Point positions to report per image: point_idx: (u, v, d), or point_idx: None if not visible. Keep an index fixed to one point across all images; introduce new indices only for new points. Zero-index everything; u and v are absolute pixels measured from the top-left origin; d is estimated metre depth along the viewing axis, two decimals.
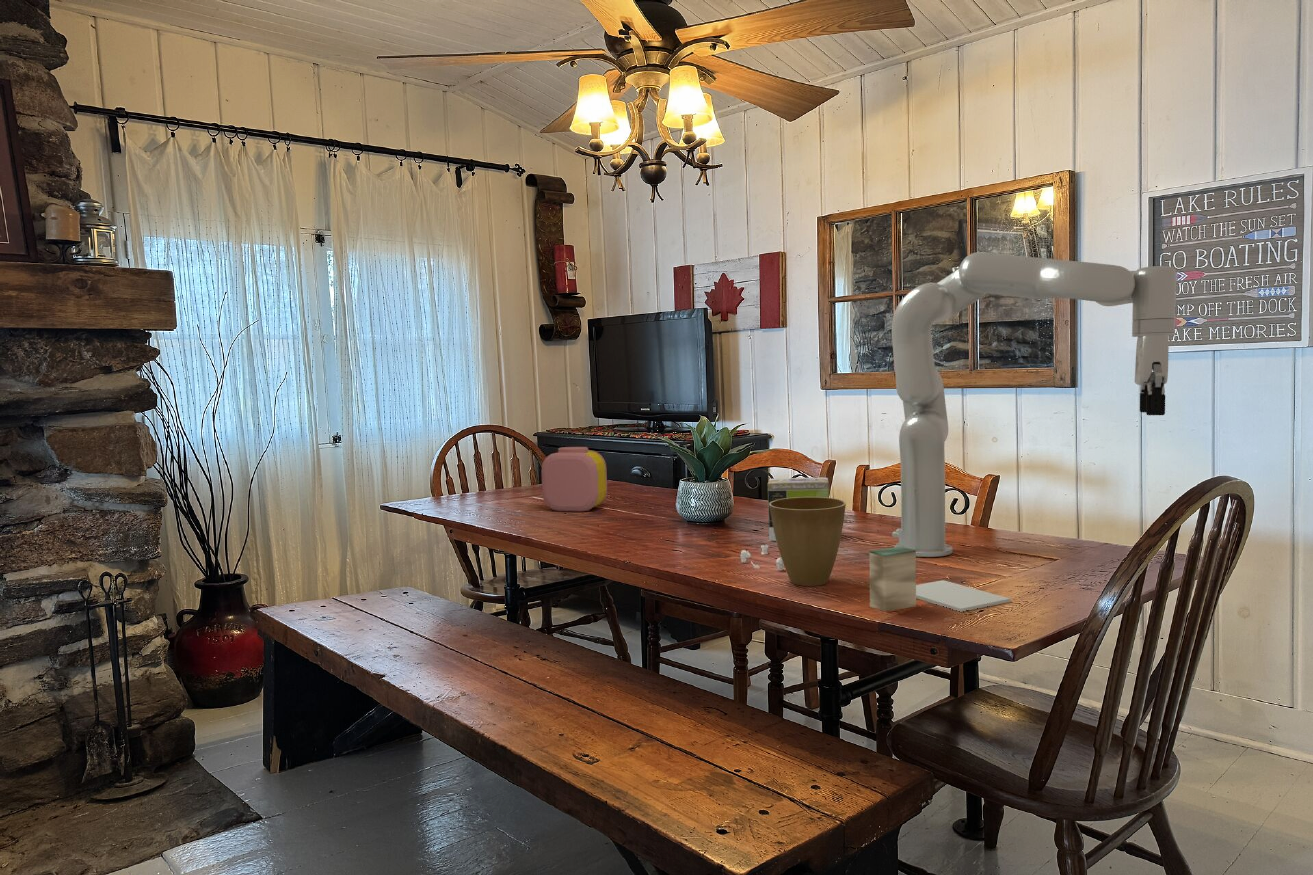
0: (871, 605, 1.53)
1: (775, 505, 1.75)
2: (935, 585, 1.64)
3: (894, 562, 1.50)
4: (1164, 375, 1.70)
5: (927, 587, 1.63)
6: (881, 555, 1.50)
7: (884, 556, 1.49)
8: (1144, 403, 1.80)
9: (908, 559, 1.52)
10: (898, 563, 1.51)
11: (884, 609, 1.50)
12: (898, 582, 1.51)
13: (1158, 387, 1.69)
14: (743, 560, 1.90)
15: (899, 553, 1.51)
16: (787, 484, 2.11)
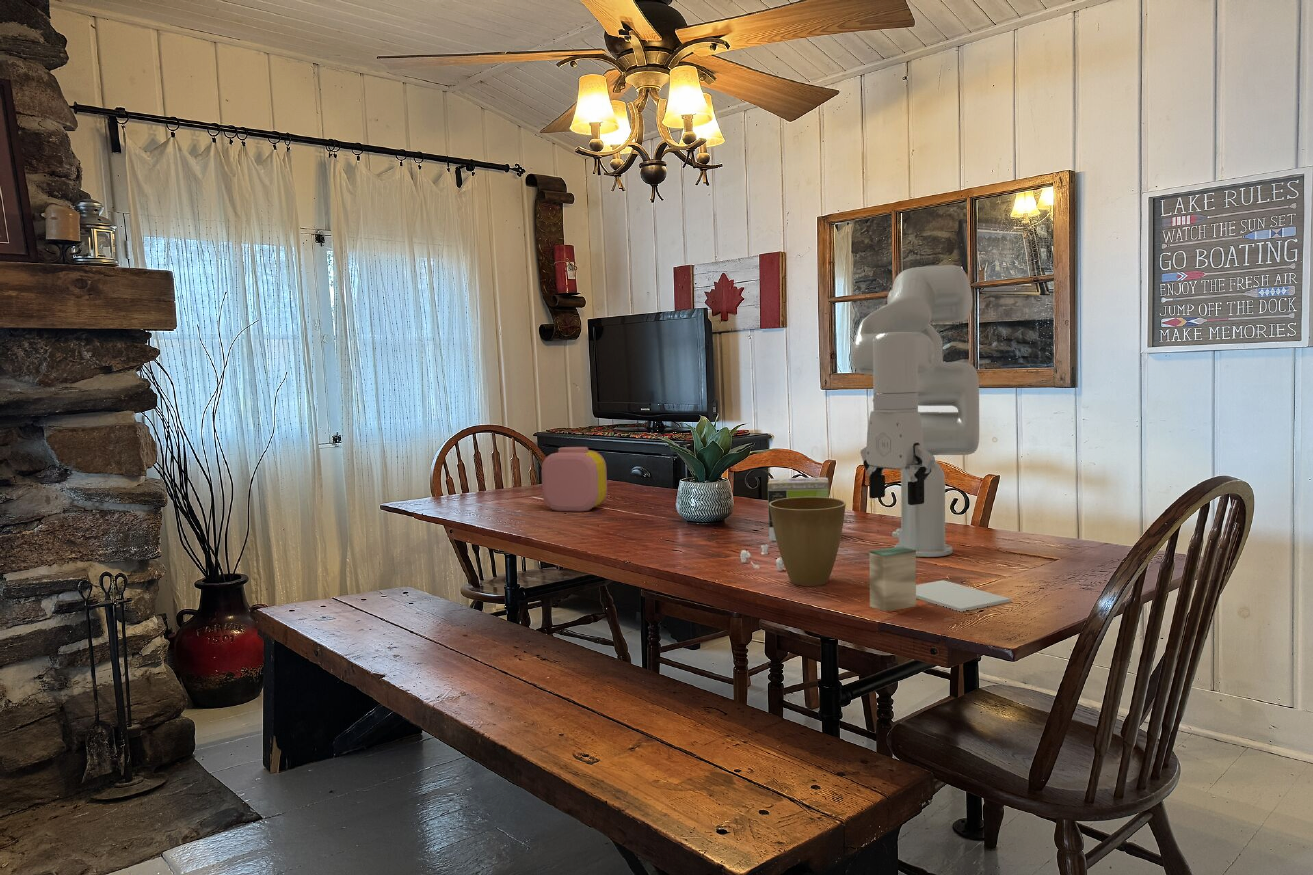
0: (871, 605, 1.53)
1: (775, 505, 1.75)
2: (935, 585, 1.64)
3: (894, 562, 1.50)
4: None
5: (927, 587, 1.63)
6: (881, 555, 1.50)
7: (884, 556, 1.49)
8: (875, 488, 1.55)
9: (908, 559, 1.52)
10: (898, 563, 1.51)
11: (884, 609, 1.50)
12: (898, 582, 1.51)
13: (926, 473, 1.45)
14: (743, 560, 1.90)
15: (899, 553, 1.51)
16: (787, 484, 2.11)
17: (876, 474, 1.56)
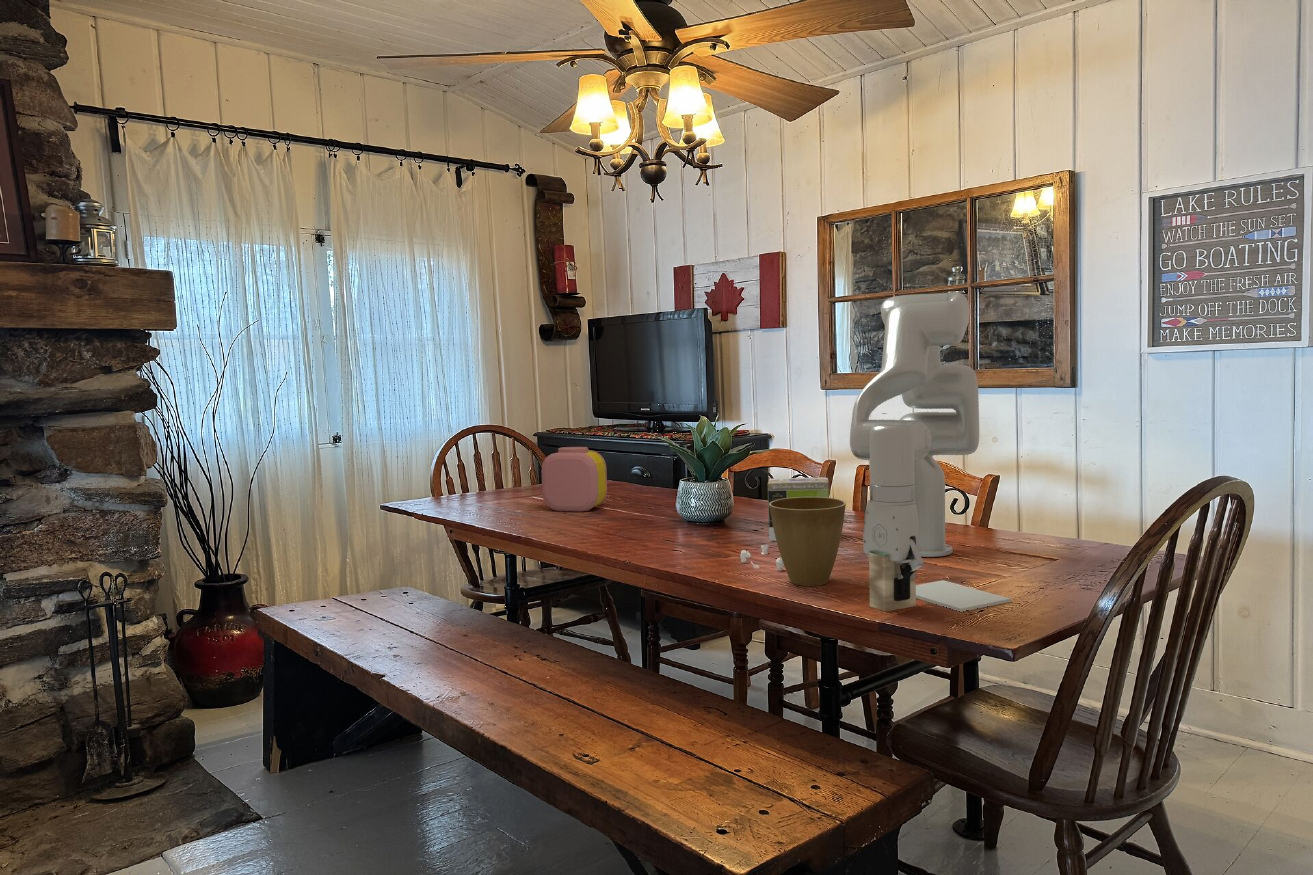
0: (871, 605, 1.53)
1: (775, 505, 1.75)
2: (935, 585, 1.64)
3: (894, 562, 1.50)
4: None
5: (927, 587, 1.63)
6: (881, 555, 1.50)
7: (884, 556, 1.49)
8: None
9: None
10: None
11: (884, 609, 1.50)
12: None
13: None
14: (743, 560, 1.90)
15: None
16: (787, 484, 2.11)
17: None
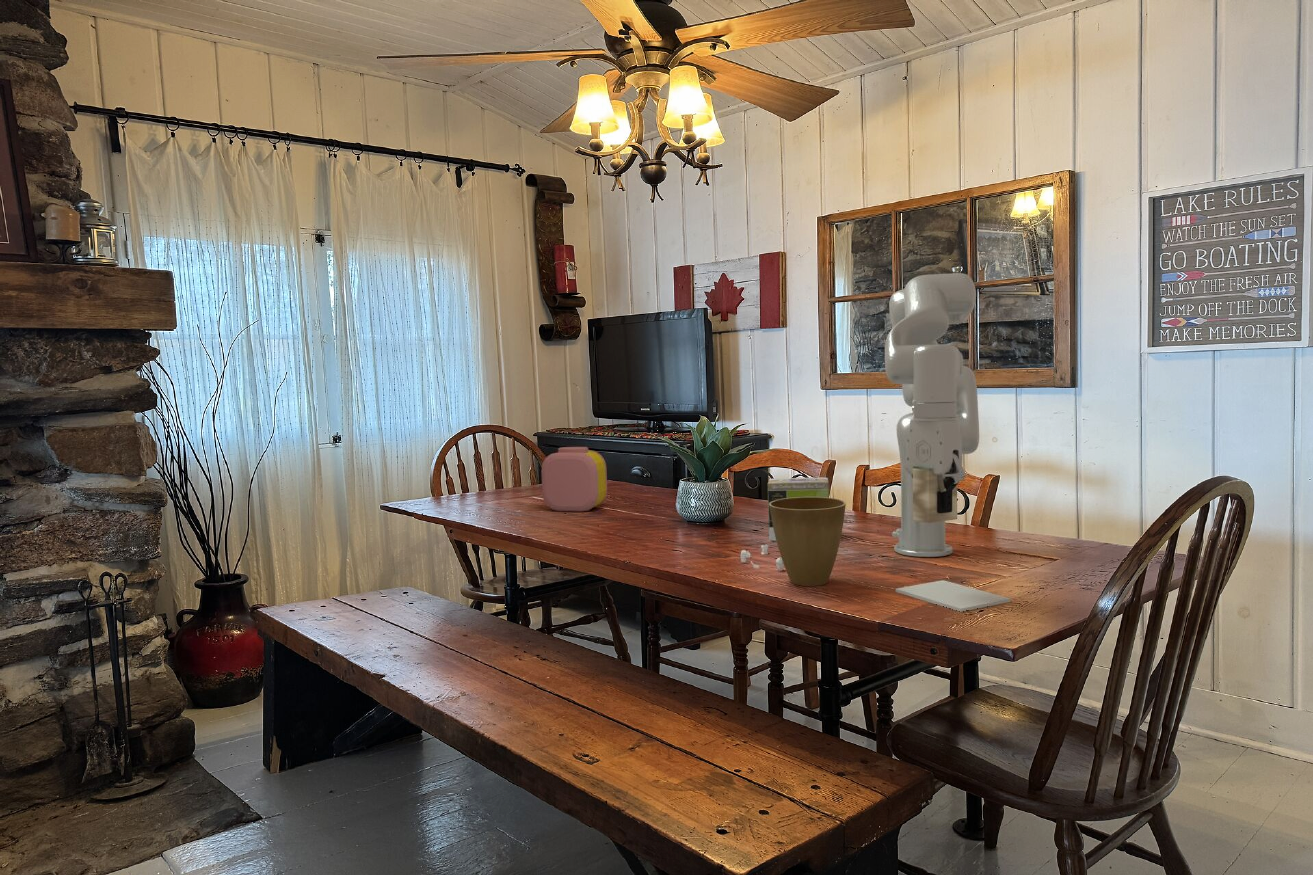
0: (914, 518, 1.60)
1: (775, 505, 1.75)
2: (935, 585, 1.64)
3: (937, 476, 1.58)
4: None
5: (927, 587, 1.63)
6: (925, 469, 1.57)
7: (928, 470, 1.57)
8: None
9: None
10: None
11: (927, 520, 1.57)
12: None
13: (953, 483, 1.56)
14: (743, 560, 1.90)
15: None
16: (787, 484, 2.11)
17: None
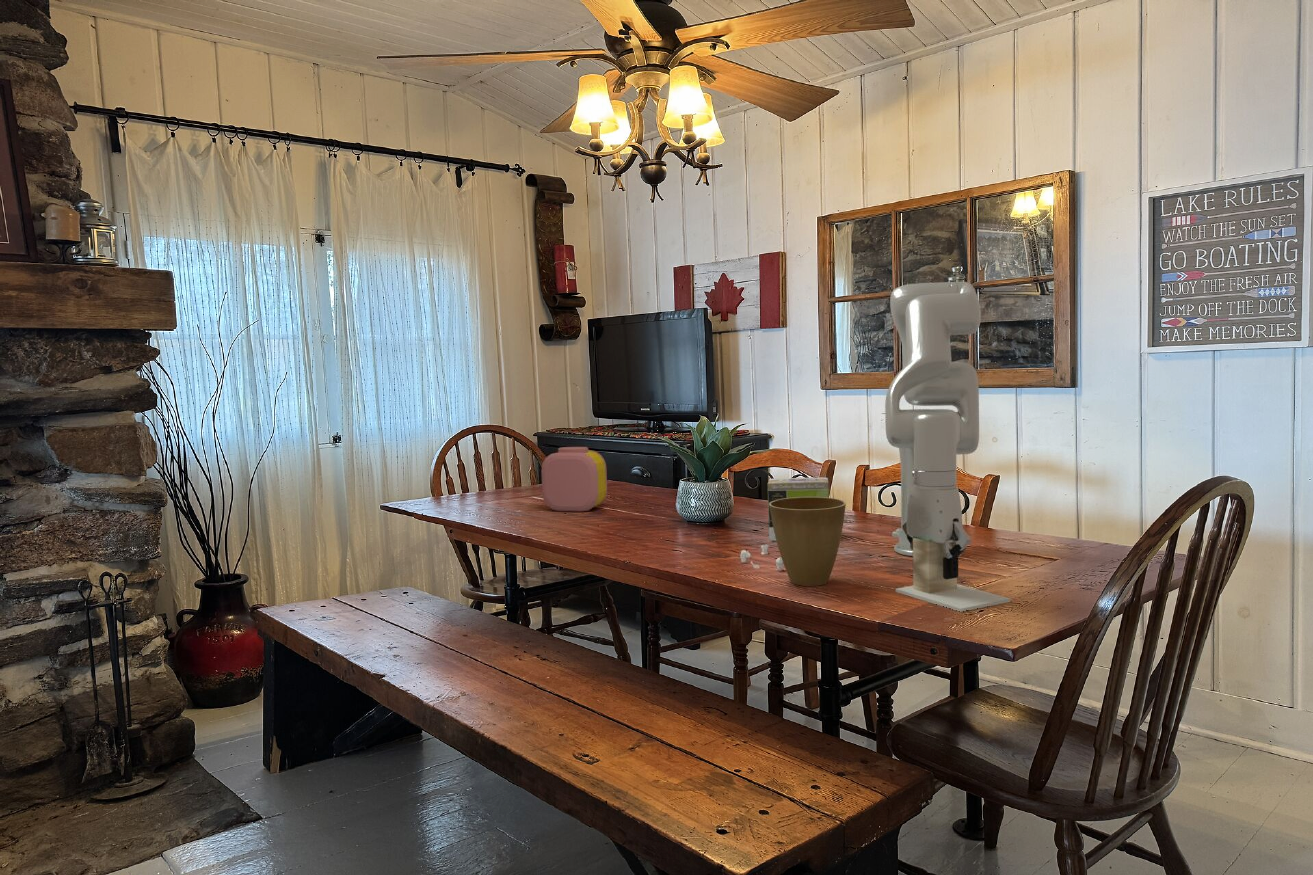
0: (914, 587, 1.62)
1: (775, 505, 1.75)
2: None
3: (937, 546, 1.59)
4: None
5: None
6: (925, 540, 1.58)
7: (928, 541, 1.58)
8: None
9: (950, 544, 1.60)
10: (940, 547, 1.59)
11: (927, 591, 1.59)
12: (940, 566, 1.59)
13: (960, 550, 1.56)
14: (743, 560, 1.90)
15: None
16: (787, 484, 2.11)
17: None
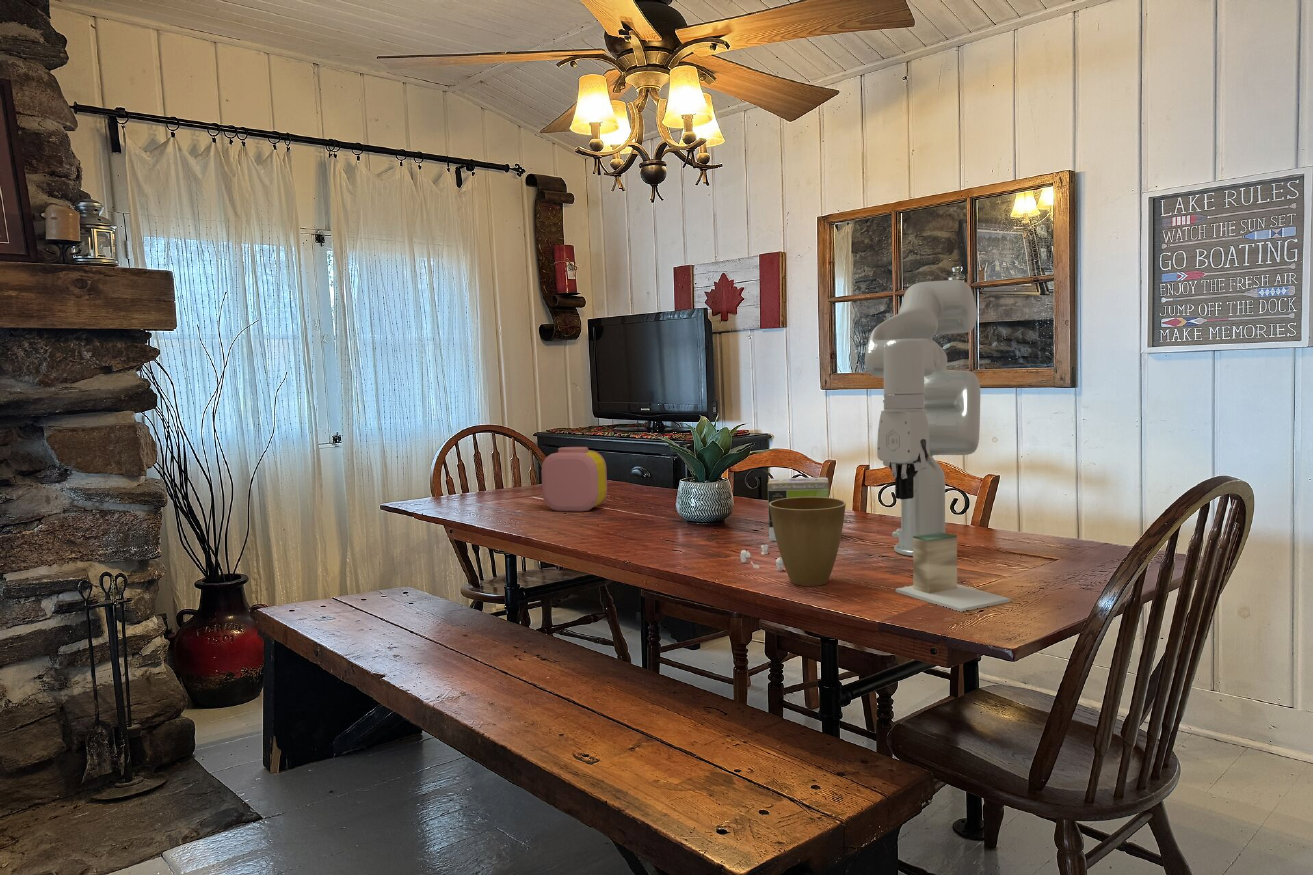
0: (914, 587, 1.62)
1: (775, 505, 1.75)
2: None
3: (937, 546, 1.59)
4: None
5: None
6: (925, 540, 1.58)
7: (928, 541, 1.58)
8: None
9: (950, 544, 1.60)
10: (940, 547, 1.59)
11: (927, 591, 1.59)
12: (940, 566, 1.59)
13: None
14: (743, 560, 1.90)
15: (942, 538, 1.59)
16: (787, 484, 2.11)
17: (902, 476, 1.67)
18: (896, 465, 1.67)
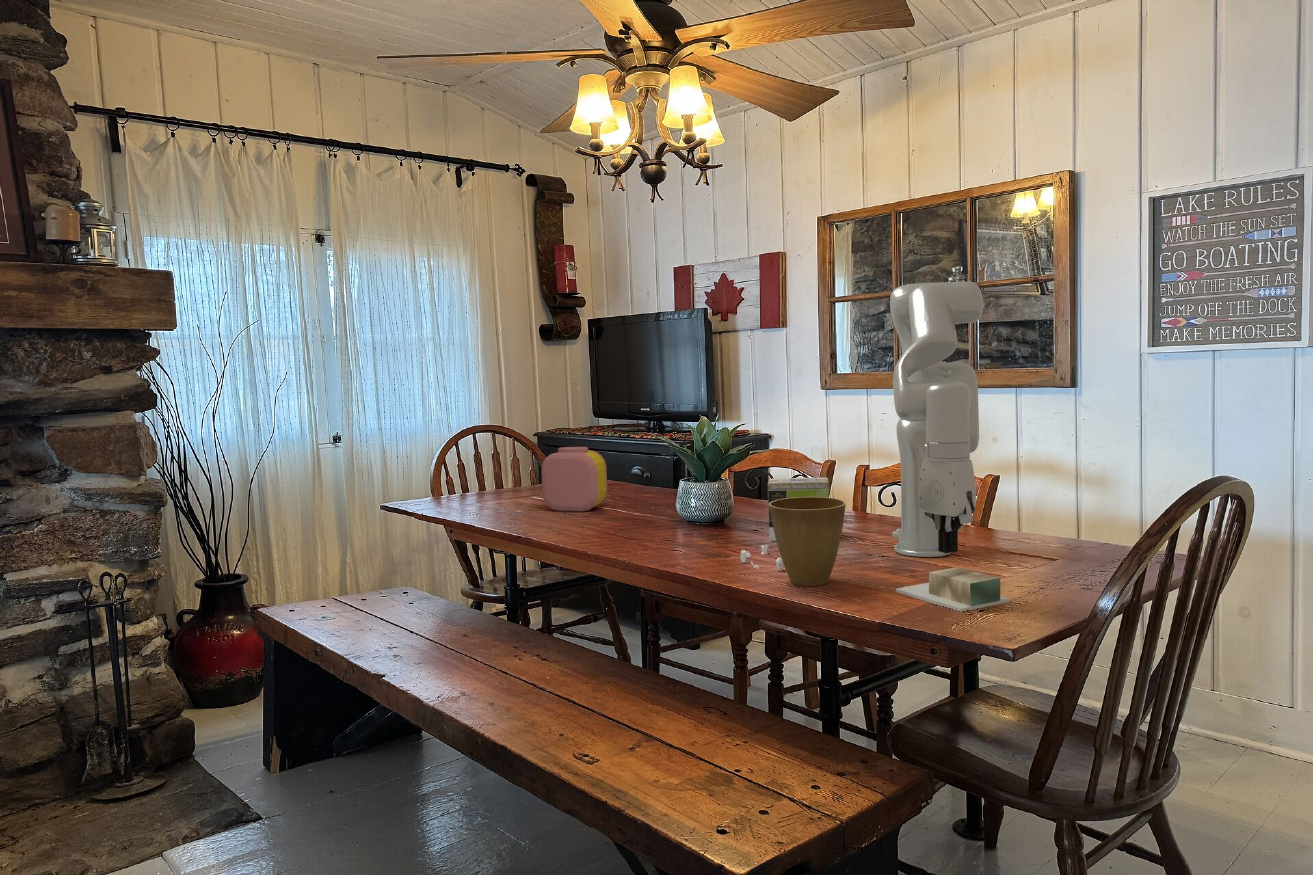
0: (930, 574, 1.58)
1: (775, 505, 1.75)
2: None
3: None
4: None
5: (927, 587, 1.63)
6: (970, 600, 1.50)
7: (969, 605, 1.50)
8: None
9: None
10: None
11: (930, 592, 1.58)
12: None
13: None
14: (743, 560, 1.90)
15: None
16: (787, 484, 2.11)
17: None
18: (939, 516, 1.58)
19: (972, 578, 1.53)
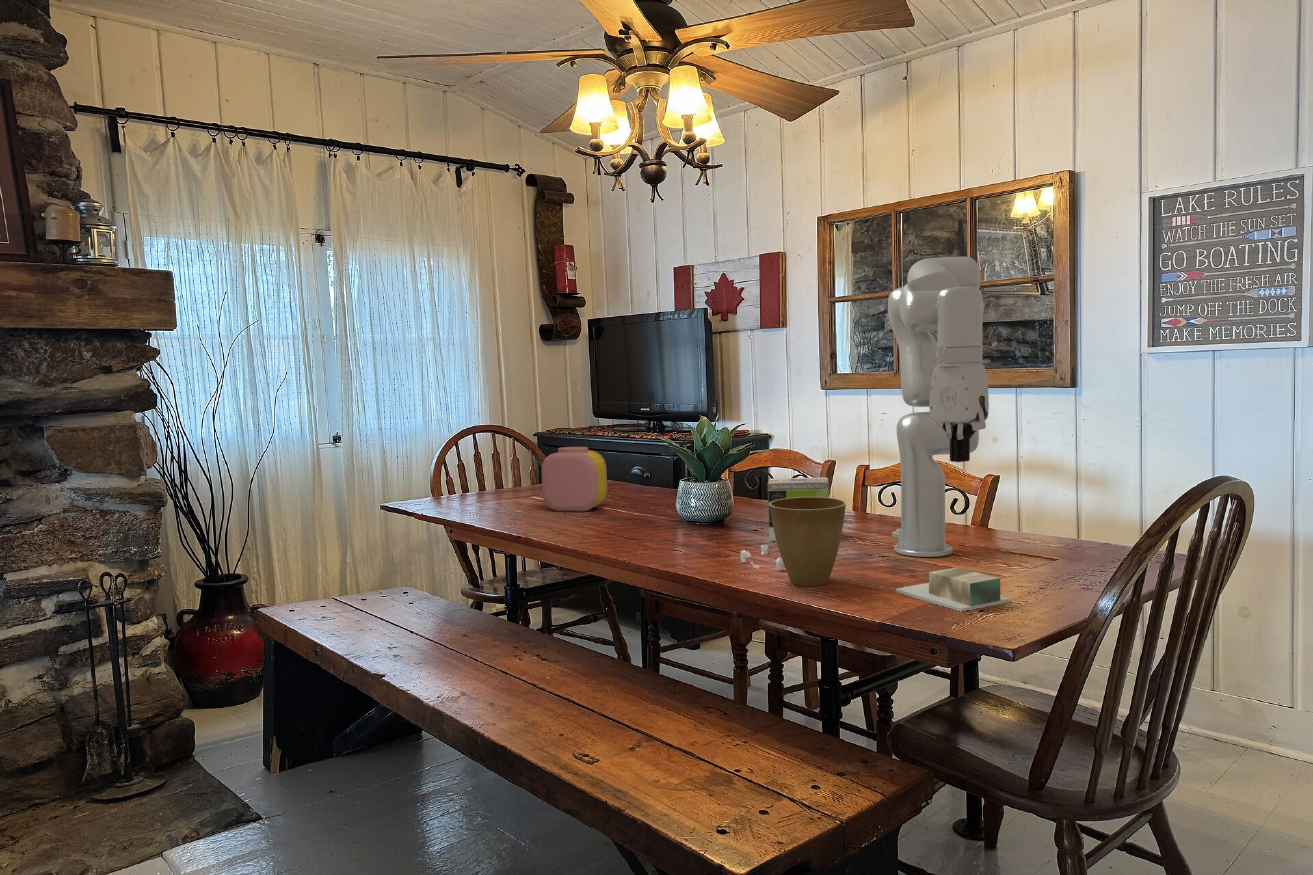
0: (930, 574, 1.58)
1: (775, 505, 1.75)
2: None
3: None
4: None
5: (927, 587, 1.63)
6: (970, 600, 1.50)
7: (969, 605, 1.50)
8: None
9: None
10: None
11: (930, 592, 1.58)
12: None
13: None
14: (743, 560, 1.90)
15: None
16: (787, 484, 2.11)
17: (957, 437, 1.54)
18: (951, 425, 1.54)
19: (972, 578, 1.53)
